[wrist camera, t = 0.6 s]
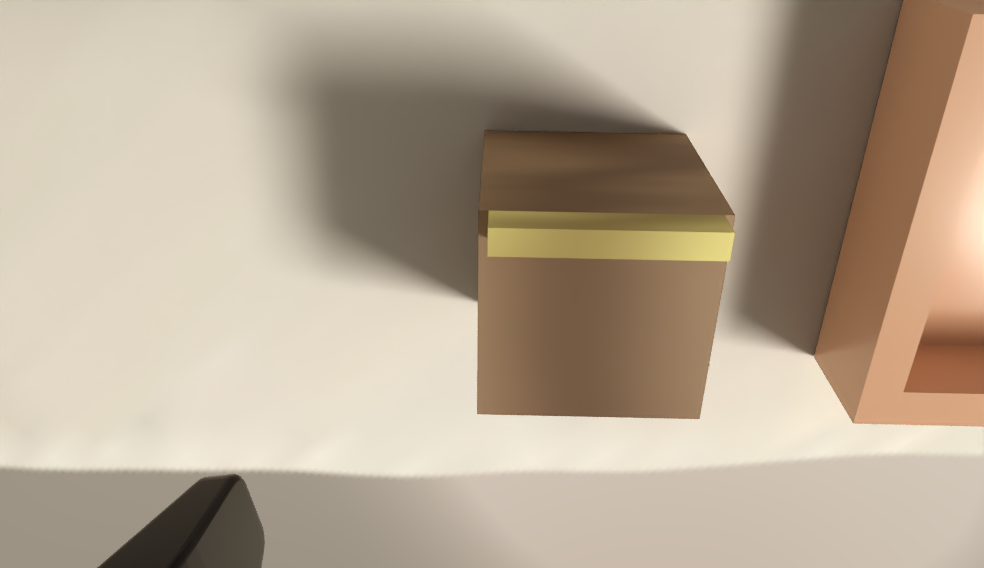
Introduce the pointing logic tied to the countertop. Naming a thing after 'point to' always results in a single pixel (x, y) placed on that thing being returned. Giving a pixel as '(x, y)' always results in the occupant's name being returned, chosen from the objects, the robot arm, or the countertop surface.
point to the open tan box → (916, 234)
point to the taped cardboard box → (597, 274)
